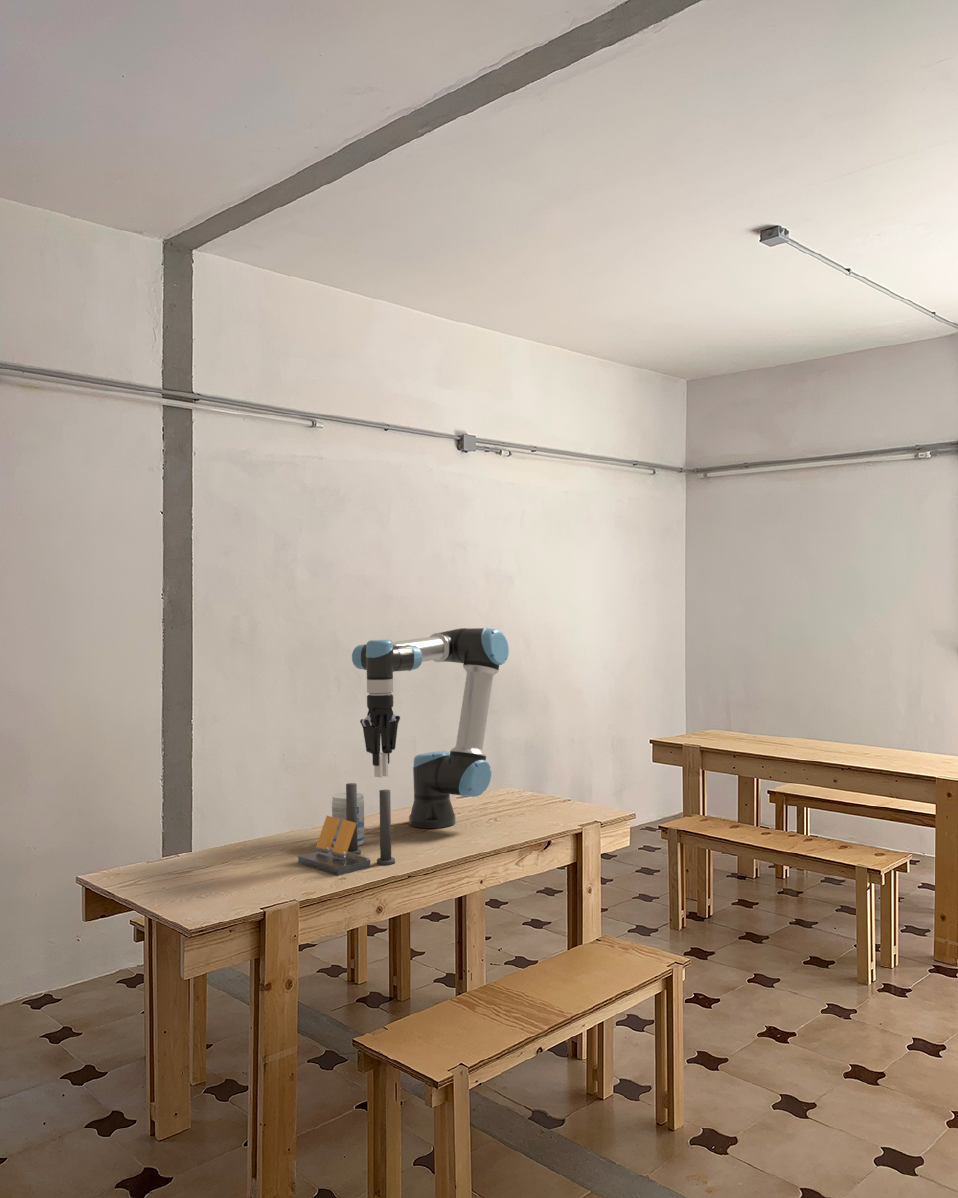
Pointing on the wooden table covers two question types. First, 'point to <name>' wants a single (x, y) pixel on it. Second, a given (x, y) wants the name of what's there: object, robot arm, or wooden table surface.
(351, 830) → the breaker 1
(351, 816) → the post
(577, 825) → the wooden table surface
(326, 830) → the orange flat block
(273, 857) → the wooden table surface
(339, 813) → the supplement tub
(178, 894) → the wooden table surface
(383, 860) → the post
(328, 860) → the panel plate
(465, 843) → the wooden table surface
